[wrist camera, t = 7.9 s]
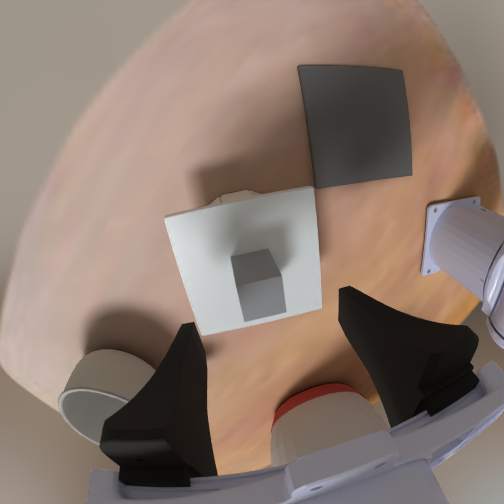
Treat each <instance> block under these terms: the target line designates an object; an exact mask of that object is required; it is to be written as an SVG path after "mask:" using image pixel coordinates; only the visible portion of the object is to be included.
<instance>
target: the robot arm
mask: <svg viewBox="0 0 504 504" xmlns="http://www.w3.org/2000/svg"><path fill="white" fill-rule="evenodd" d="M480 203H481V199H480V197H479V196H474V197H469V198H463V199H458V200H453V201H448V202H442V203H437V204H432V205H429V206H428V208H427V217H426V231H425V242H424V251H423V260H422V267H421V275H422V276H427V275H430V274H432V273H435V272H438V271H440V270H443V271H444V272H446V273H447V274H448V275H450V276H451V277H452V278H453V279H455V280H456V281H457V282H459V283H460V284H461V285H462V286H464V287H465V288H466V289H467V290H469V291H470V292H471V293H472V294H474V295H475V296H476V297H477V298H478V299H480V300H481V301H482V302H483V307H482V311H483V312H485V314H487V315H488V317H487V321H486V324H487V328H488V330H489V332H490V335H491V336H492V338H493V339H494V341H495V342H496V343H497V344H498V345H499V346H500V347H502V348H503V349H504V216H502V215H500V214H498V213H496V212H494V211H492V210H489V209H487V208H485V207H483V206H481V205H480ZM434 209H435V210H434ZM338 321H339V323H340V325H341V327H342V329H343V331H344V333H345V336H346V337H347V339H348V340H349V342H350V344H351V345H352V347H353V348H354V350H355V351H356V353H357V354H358V356H359V357H360V359H361V361H362V362H363V364H364V365H365V367H366V369H367V370H368V372H369V374H370V376H371V378H372V380H373V383H374V385H375V387H376V389H377V391H378V394H379V396H380V399H381V401H382V403H383V406H384V409H385V412H386V414H387V417H388V420H389V423H390V426H391V428H390V429H388V430H378V431H374V432H371V433H368V434H366V435H363V436H361V437H358V438H355V439H353V440H350V441H347V442H344V443H342V444H339V445H336V446H333V447H330V448H327V449H323V450H320V451H317V452H313V453H310V454H307V455H305V456H302V457H299V458H297V459H295V460H294V461H292V462H290V463H289V464H285V465H281V466H276V467H272V468H267V469H261V470H256V471H250V472H244V473H237V474H229V475H221V476H218V474H217V469H216V464H215V460H214V454H213V449H212V443H211V437H210V430H209V422H208V414H207V362H206V353H205V350H204V347H203V344H202V342H201V339H200V336H199V334H198V331H197V328H196V326H195V323H194V322H191V323H186V324H182V325H181V327H180V329H179V331H178V333H177V335H176V337H175V339H174V341H173V343H172V345H171V347H170V348H169V350H168V352H167V354H166V356H165V357H164V359H163V361H162V362H161V364H160V365H159V367H158V368H157V370H156V371H155V373H154V374H153V376H152V377H151V378H150V380H149V381H148V382H147V383H146V384H145V386H144V387H143V388H142V389H141V390H140V391H139V392H138V393H137V394H136V395H135V396H134V397H133V398H132V399H131V400H130V401H129V402H128V403H127V404H126V405H124V406H123V407H122V408H121V409H120V410H118V411H117V412H116V413H114V414H113V415H112V416H110V417H109V418H107V419H106V420H105V421H104V424H103V428H102V434H101V439H100V445H99V447H100V449H101V451H102V452H103V453H104V454H105V455H106V456H108V457H109V458H110V459H111V460H113V461H114V462H115V463H117V464H118V465H119V466H120V471H119V472H118V471H115V470H109V469H100V468H92V469H91V473H90V481H89V489H88V496H87V504H449V503H448V501H447V499H446V497H445V495H444V493H443V491H442V489H441V487H440V485H439V483H438V481H437V479H436V478H435V476H434V474H433V472H432V470H431V469H433V468H434V467H435V466H437V465H438V464H440V463H442V462H443V461H444V460H446V459H447V458H449V457H450V456H452V455H453V454H454V453H455V452H457V451H458V450H460V449H461V448H462V447H464V446H465V445H466V444H467V443H469V442H470V441H471V440H472V439H474V438H475V437H476V436H477V435H479V434H480V433H481V432H482V431H483V430H484V429H486V428H487V427H488V426H489V425H490V424H492V423H493V422H494V421H495V420H496V419H497V418H498V417H499V416H500V414H501V413H502V412H503V411H504V372H503V371H502V370H501V369H500V367H499V366H498V365H497V364H496V363H495V362H494V361H493V360H492V361H490V362H489V363H487V364H486V365H485V366H483V367H482V368H481V369H480V370H478V372H477V373H476V374H474V373H473V371H472V370H473V368H474V367H473V365H472V364H471V363H470V361H471V359H472V357H473V355H474V353H475V351H476V349H477V346H478V341H479V338H478V336H477V335H476V334H475V333H474V332H473V331H472V330H471V329H470V328H469V327H468V326H464V325H450V324H443V323H437V322H432V321H428V320H424V319H420V318H417V317H414V316H411V315H408V314H405V313H403V312H400V311H398V310H396V309H393V308H391V307H389V306H387V305H385V304H383V303H381V302H379V301H377V300H375V299H373V298H371V297H370V296H368V295H366V294H364V293H362V292H361V291H359V290H357V289H355V288H353V287H351V286H347V287H343V288H340V289H339V314H338Z"/></svg>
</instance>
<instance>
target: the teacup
mask: <svg viewBox="0 0 504 504" xmlns="http://www.w3.org/2000/svg"><path fill="white" fill-rule="evenodd" d="M155 371H156V370H155V369H154V368H153V367H151V366H150V365H149V364H148V363H146V362H145V361H143V360H142V359H140V358H138V357H136V356H134V355H132V354H130V353H127V352H123V351H119V350H113V349H102V350H96V351H93V352H91V353H89V354H87V355H86V356H84V357H83V358H82V359H81V360H80V361H79V362H78V364H77V365H76V367H75V369H74V370H73V372H72V374H71V376H70V378H69V380H68V382H67V385H66V387H65V389H64V391H63V392H62V394H61V395H60V397H59V399H58V406H59V409H60V412H61V414H62V416H63V418H64V420H65V421H66V422H67V423H68V424H69V425H70V426H71V427H72V428H73V429H74V430H75V431H76V432H78V433H79V434H80V435H82V436H83V437H85V438H87V439H88V440H90V441H92V442H94V443H96V444H98V445H100V439H101V434H102V428H103V424H104V421H105V420H106V419H107V418H109V417H110V416H112V415H113V414H114V413H116V412H117V411H118V410H120V409H121V408H122V407H123V406H124V405H126V404H127V403H128V402H129V401H130V400H131V399H132V398H133V397H134V396H135V395H136V394H137V393H138V392H139V391H140V390H141V389H142V388H143V387H144V386H145V384H146V383H147V382H148V381H149V380H150V378H151V377H152V376H153V374H154V373H155Z"/></svg>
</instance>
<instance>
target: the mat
mask: <svg viewBox="0 0 504 504" xmlns="http://www.w3.org/2000/svg"><path fill="white" fill-rule="evenodd" d="M297 68H298V74H299V79H300V85H301V90H302V96H303V102H304V108H305V115H306V121H307V128H308V135H309V142H310V150H311V158H312V166H313V174H314V184H315V188H316V189H320V188H326V187H332V186H339V185H345V184H352V183H358V182H365V181H373V180H380V179H388V178H395V177H404V176H412V150H411V135H410V123H409V113H408V105H407V97H406V90H405V84H404V78H403V72H402V70H394V69H385V68H374V67H360V66H335V65H314V66H298V67H297Z"/></svg>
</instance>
